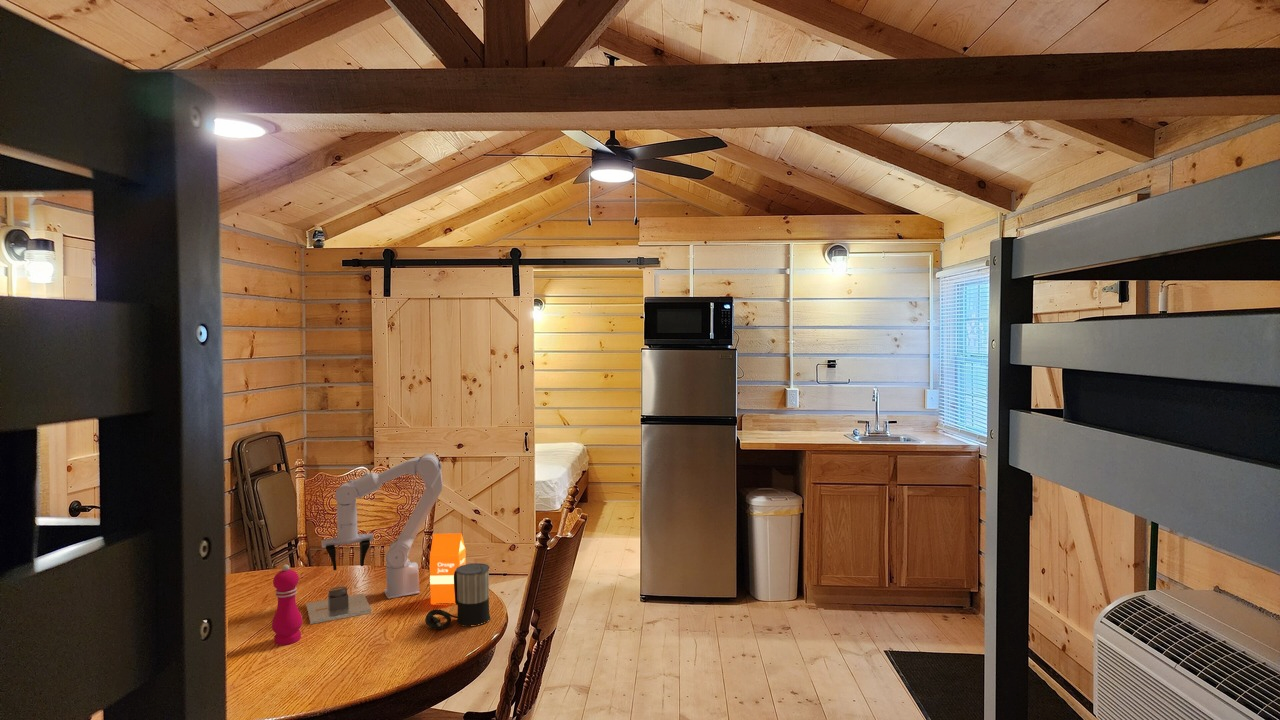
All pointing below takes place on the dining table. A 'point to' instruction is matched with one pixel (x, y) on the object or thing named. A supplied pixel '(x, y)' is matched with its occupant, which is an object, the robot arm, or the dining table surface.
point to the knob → (338, 598)
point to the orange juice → (445, 566)
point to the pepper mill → (286, 608)
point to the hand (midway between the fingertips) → (348, 567)
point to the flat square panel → (322, 613)
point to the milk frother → (467, 597)
